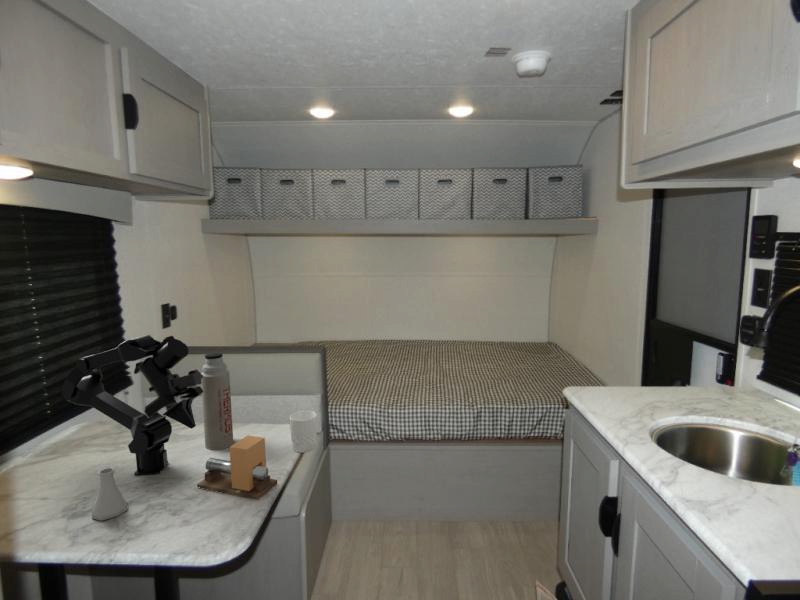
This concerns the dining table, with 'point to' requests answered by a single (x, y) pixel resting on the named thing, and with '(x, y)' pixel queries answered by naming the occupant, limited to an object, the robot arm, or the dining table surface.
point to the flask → (108, 497)
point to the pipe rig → (221, 480)
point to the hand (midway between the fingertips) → (193, 427)
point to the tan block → (246, 461)
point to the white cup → (303, 431)
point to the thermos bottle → (216, 403)
